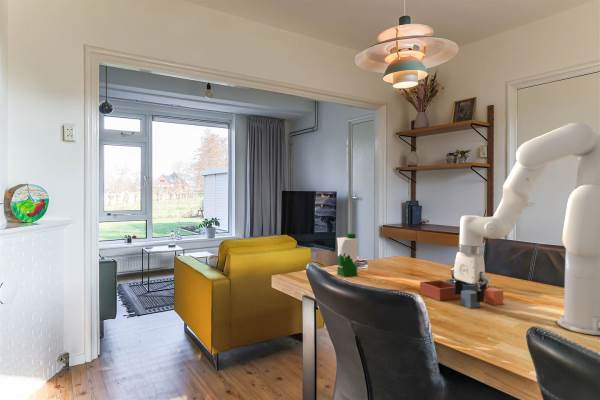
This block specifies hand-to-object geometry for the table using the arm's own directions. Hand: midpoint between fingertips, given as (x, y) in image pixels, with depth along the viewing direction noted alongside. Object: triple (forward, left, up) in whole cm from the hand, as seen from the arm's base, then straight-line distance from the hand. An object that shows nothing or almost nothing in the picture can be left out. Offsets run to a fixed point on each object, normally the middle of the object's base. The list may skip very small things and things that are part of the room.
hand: (468, 297), depth 130 cm
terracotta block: (-1, -11, -3) cm, 12 cm away
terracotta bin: (+13, +1, -3) cm, 14 cm away
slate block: (-1, 0, -3) cm, 3 cm away
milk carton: (+58, +18, -3) cm, 61 cm away
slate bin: (+13, -12, -3) cm, 18 cm away
